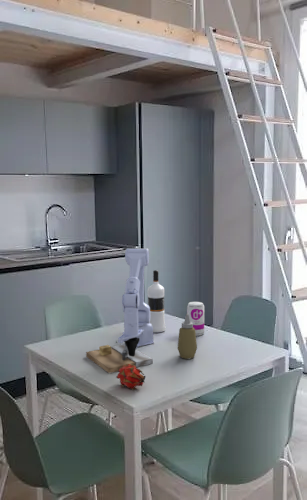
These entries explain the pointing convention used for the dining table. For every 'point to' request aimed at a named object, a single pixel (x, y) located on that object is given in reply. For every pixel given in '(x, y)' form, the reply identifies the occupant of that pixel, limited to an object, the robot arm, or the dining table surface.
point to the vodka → (156, 304)
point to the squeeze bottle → (187, 339)
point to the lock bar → (125, 353)
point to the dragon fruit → (130, 376)
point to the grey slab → (116, 358)
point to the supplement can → (196, 316)
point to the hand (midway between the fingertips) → (131, 355)
